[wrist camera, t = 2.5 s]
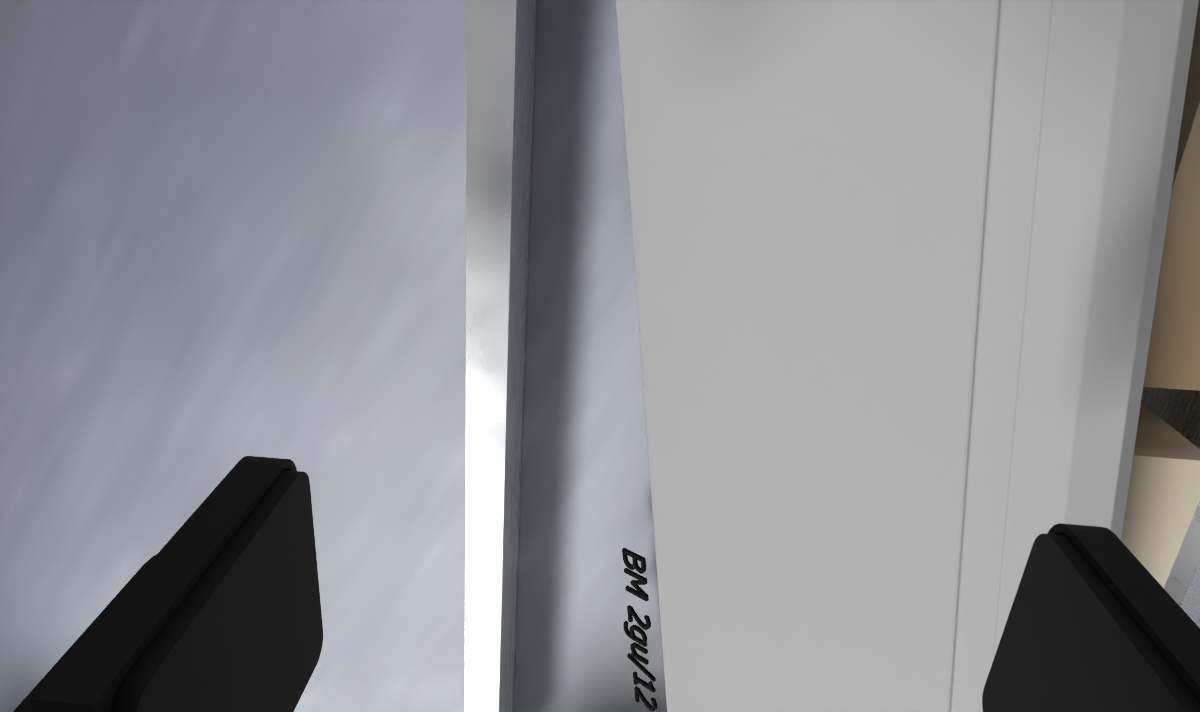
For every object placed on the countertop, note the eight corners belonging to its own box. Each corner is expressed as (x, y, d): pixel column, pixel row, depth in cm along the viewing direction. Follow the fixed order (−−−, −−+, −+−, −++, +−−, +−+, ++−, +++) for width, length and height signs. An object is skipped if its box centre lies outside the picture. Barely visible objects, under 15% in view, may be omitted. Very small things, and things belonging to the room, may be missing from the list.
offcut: (1097, 367, 22) (1215, 462, 17) (980, 724, 27) (1047, 871, 22) (984, 358, 22) (1071, 450, 17) (889, 716, 27) (937, 860, 22)
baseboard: (527, -444, 16) (1317, -1098, 8) (629, -400, 18) (1359, -888, 9) (636, 764, 26) (1028, 1060, 18) (694, 714, 28) (1075, 960, 20)
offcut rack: (1641, -826, 13) (2899, -1897, 6) (991, 869, 29) (1103, 1157, 22) (508, -867, 14) (335, -1880, 6) (482, 814, 30) (424, 1076, 22)
